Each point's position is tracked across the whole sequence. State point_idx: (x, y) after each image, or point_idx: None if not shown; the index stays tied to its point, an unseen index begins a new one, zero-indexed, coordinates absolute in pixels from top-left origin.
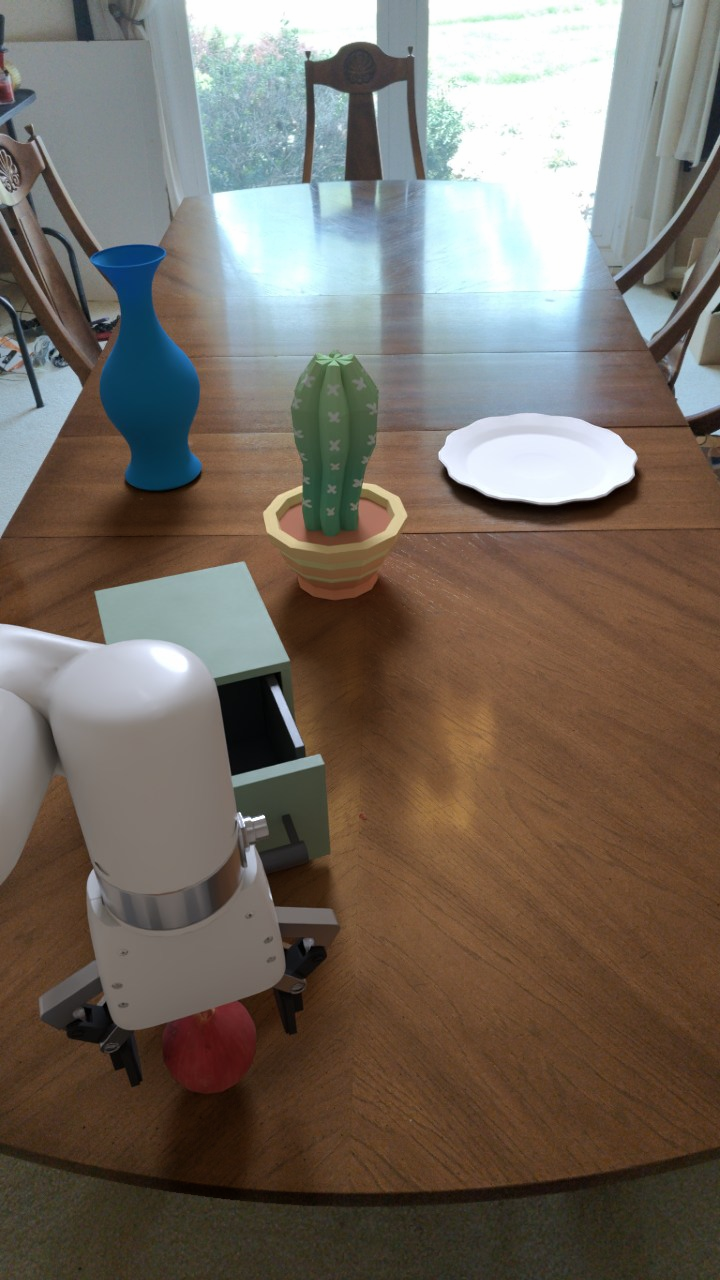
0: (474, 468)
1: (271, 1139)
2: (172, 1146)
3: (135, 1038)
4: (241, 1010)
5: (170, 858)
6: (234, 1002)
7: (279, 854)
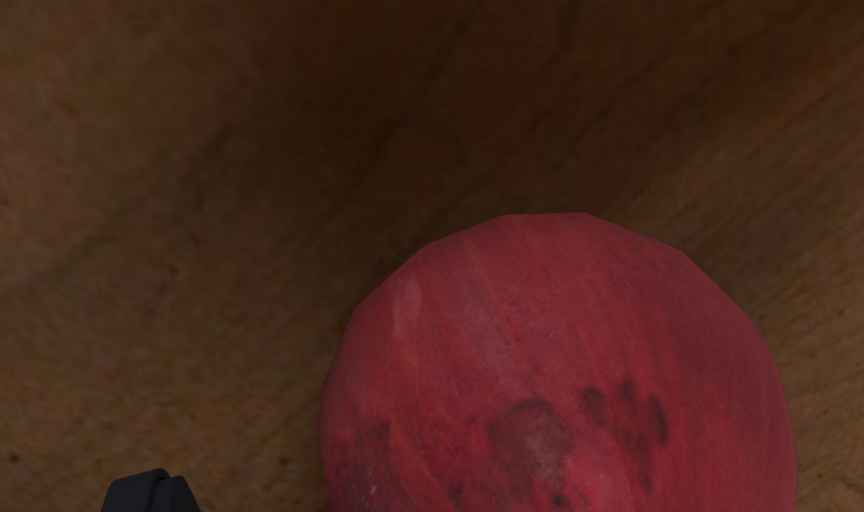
0: None
1: None
2: None
3: (176, 483)
4: (793, 465)
5: None
6: (784, 458)
7: None
